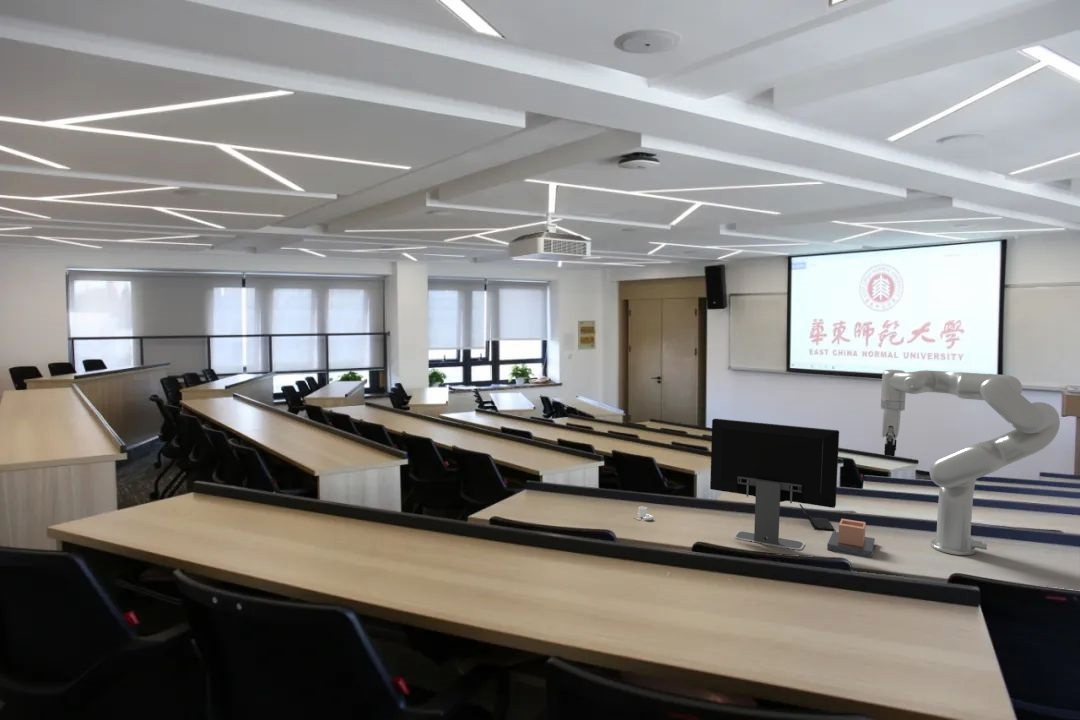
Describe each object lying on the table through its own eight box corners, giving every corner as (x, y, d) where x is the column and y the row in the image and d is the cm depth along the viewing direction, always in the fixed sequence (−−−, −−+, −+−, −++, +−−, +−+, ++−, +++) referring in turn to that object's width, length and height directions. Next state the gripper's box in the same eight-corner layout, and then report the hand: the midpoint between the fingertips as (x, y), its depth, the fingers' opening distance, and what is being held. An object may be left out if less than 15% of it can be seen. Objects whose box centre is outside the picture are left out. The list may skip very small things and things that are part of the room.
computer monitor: (834, 548, 220) (840, 429, 216) (831, 556, 213) (836, 433, 209) (712, 526, 241) (715, 417, 237) (705, 533, 233) (708, 421, 230)
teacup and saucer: (655, 522, 246) (655, 511, 245) (633, 522, 246) (633, 511, 246) (651, 514, 255) (652, 504, 254) (631, 514, 255) (631, 504, 254)
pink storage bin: (838, 542, 220) (839, 524, 219) (840, 535, 226) (841, 518, 226) (862, 546, 216) (863, 528, 216) (864, 539, 222) (865, 522, 222)
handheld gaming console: (841, 526, 237) (821, 501, 237) (823, 540, 237) (803, 514, 237) (827, 520, 249) (809, 496, 250) (810, 532, 249) (792, 509, 250)
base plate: (874, 544, 224) (875, 523, 223) (871, 557, 212) (872, 536, 211) (832, 536, 231) (833, 517, 230) (827, 549, 219) (828, 529, 218)
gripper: (882, 401, 243) (879, 447, 244) (879, 407, 228) (876, 456, 229) (905, 402, 239) (903, 449, 240) (904, 409, 224) (901, 459, 225)
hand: (890, 452), depth 235 cm, fingers open, 9 cm apart
